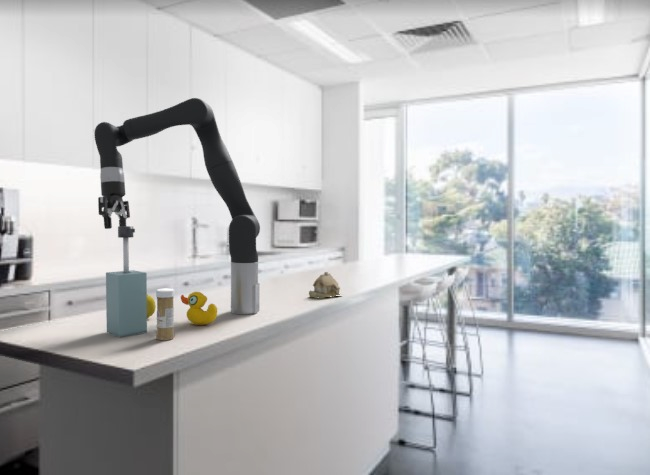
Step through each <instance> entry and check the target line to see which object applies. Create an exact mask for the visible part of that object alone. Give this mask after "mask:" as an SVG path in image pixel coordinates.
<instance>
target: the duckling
mask: <svg viewBox="0 0 650 475" xmlns="http://www.w3.org/2000/svg"><path fill="white" fill-rule="evenodd" d="M180 300H181V302H182V304H184V305H186V306H187V305H188V306H189V308H188V310H187V311H186V318H187V319H188V321H189V322H190V323H191V324H192V325H196V326H199V325H200V326H204V325H208V324H211V323H212V322H214V321H216V319H217V316H218V308H217V306H216V304H214V303H210V304H208V307H207V309H206V310H204V309H203V307H204V306H205V304H206V303H207V302H208V297H207V296H206V295H204V293H202V292H200V291H193V292H191V293H189V295H188V296H187V297H186V296H184V294H181V296H180Z"/></svg>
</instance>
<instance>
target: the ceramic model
mask: <svg viewBox="0 0 650 475" xmlns="http://www.w3.org/2000/svg"><path fill="white" fill-rule="evenodd" d="M312 287H314V288H313V290H309V291H308V296H309V298H310V297H319V298H318V299H322V298H321V297H330V296H336V295H340V294H341V293H340V290H341V287H340V286H339V282H338V281H337V279H335V278H334V277H333V276H332V274H331V273H329V272H328V271H324V273H322V274H320V275H319V277H317V278H316V280H315V281H314V282H313V285H312ZM339 293H340V294H339Z"/></svg>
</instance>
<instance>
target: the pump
mask: <svg viewBox="0 0 650 475" xmlns="http://www.w3.org/2000/svg"><path fill="white" fill-rule="evenodd" d="M134 233H136V229H135V228H134V226H129V225H128V226H127V225H126V226H117V238H118V239H122V244H123V245H122V248H123V249H122V250H123V253H122V254H123V258H122V259H123V263H122V265H123V266H122V267H123V270H122V271H124V273H129V271H130V266H129V265H130V260H129V259H130V258H129V257H130V256H129V248H130V247H129V246H130V245H129V238H131V239H132V238H134Z"/></svg>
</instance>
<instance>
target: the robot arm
mask: <svg viewBox="0 0 650 475" xmlns="http://www.w3.org/2000/svg"><path fill="white" fill-rule="evenodd" d="M217 123H218V122H217V121H216V116H215V114H214V110H213V109H212V107H211V106H210V104H208V103H207V102H206V101H204V100H203V99H202V98H197V97H193V98H189V99H185V100H184V101H182V102H179V103H177V104H175V105H172V106H170V107H168V108H165V109H163V110H159V111H156V112H152V113H149V114H148V113H147V114H144V115H141V116H140V115H139V116H135V117H132V118H127V119H126V120H124V121H123V123H122V125H118V126H115V125H113V124H112V123H110V122H106V121H102V122H100V123H98V124H97V125H96V127H95V129H94V135H93V136H94V141H95V145H96V149H97V151H98V152H97V153H98V154H99V155H98V156H99V164H100V174H99V177H100V190H101V191H100V192H101V193H100V194H101V196H99V197H98V198H97V199H98V200H97V201H98V203H97V204H98V205H97V206H98V207H97V208H98V215H99V216H101V217H102V218H103V226H104V227H103V228H104V229H106V230H110V229H112V227H113V226H112V222H113V221H112V214H113V213H114V214H115V215H117V217H118V225H119V226H127V219H130V218H131V215H130V214H131V213H130V205H129V204H130V203H129V200H123V197H125V195H126V185H125V184H126V183H125V181H126V180H125V173H124V168H123V166H124V164H123V156H122V154H121V153H120V151H119V150H118V148H117V147H121V146H124V145H126V144H128V143H130V142H133V141H134V140H139V139H143V138H147V137H150V136H154V135H156V134H159V133H160V132H162V131H165V130H167V129H169V128H173V127H176V126H186V125H187V126H188V125H189V126H191V127H192V128H193V131H195V134H196V135H197V137H198V139H199V141H200V145H201V147H202V153H203V160H204V166H205V169H206V171H207V174H208V176H209V180H210V181H211V183H212V186H213V187H214V189H215V190H216V192H217V193H218V195H219V196H220V198H221V199H222V200H223V202H224V203H225V205H226V207H227V209H228V211H229V213H230V214H229V215H230V217H231V220H230V223H229V226H228V251H229V252H228V253H229V256H230V313H232V314H235V315H249V314H250V315H251V314H257V313H258V312H259V311H260V291H261V290H260V288H261V287H260V283H259V254H258V251H257V238H258V236H259V234H260V232H261V226H260V222H259V220H258V218H257V217H256V215H255V212H254V211H253V209H252V208H251V206H250V203H249V201H248V199H247V196H246V194H245V191H244V188H243V185H242V182H241V179H240V177H239V174H238V172H237V168H236V166H235V163H234V162H233V159H232V157H231V154H230V152H229V151H228V149H227V146H226V144H225V143H224V140H223V138H222V136H221V133H220V130H219V128H218V124H217Z"/></svg>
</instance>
